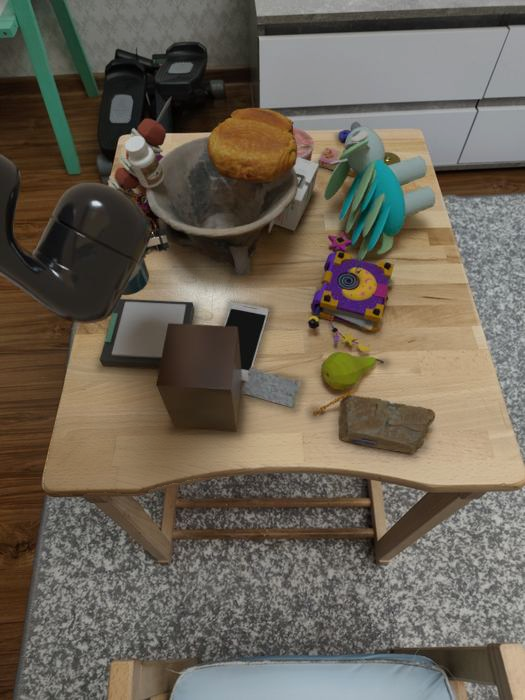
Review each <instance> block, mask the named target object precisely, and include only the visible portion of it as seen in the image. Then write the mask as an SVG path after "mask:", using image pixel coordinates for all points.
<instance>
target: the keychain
mask: <svg viewBox="0 0 525 700" xmlns="http://www.w3.org/2000/svg"><path fill="white" fill-rule="evenodd" d="M354 393H355V390H349V391H348V392H345V393H344V394H343V395H341V396H339V397H337V398H334V400H332V401H330V403H328V404H326V405H325V404H324V405H323V406H321V407H320V408H319V409H316V411H315V410H314V411H312V415H313V416H317V415H318V413H319V412H323V413H324V412H325V411H326V409H327V408H329V407H331V406H332V405H335V404H337V403H340V401H341V400H342V399H344V397H348V396H351V395H352V394H354Z"/></svg>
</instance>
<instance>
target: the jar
mask: <svg viewBox="0 0 525 700" xmlns="http://www.w3.org/2000/svg"><path fill="white" fill-rule="evenodd" d="M149 280H150V273H149V269H148V266H147V264H146V261H145V259H144V260H143V263H142V266H141V268H140V270H139V271H138V273H137V274H136V275H135V277H134V278H133V279H132V280H130V281H129V282H128V284H127V286H126V288H125V290H124V293H123V295H122V296H131V295H134V294H137V293H139V292H141V291H142V290H143V289H144V288H145V287H146V286H147V285H148V283H149Z"/></svg>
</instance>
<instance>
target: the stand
mask: <svg viewBox="0 0 525 700" xmlns="http://www.w3.org/2000/svg"><path fill="white" fill-rule="evenodd" d="M155 383H156V384H155V387H156V389H157V391H158V393H159V396H160V399H161V401H162V403H163V405H164V408H165V411H166V412H167V415H168V417H169V419H170V422H171V424H172V426H173V428H174V429H179V430H180V429H181V430H196V431H197V430H199V431H200V430H201V431H216V432H217V431H218V432H238V424H239V413H240V401H241V394H242V393H241V392H242V383H243V382H242V370H241V358H240V347H239V335H238V327H234V326H224V325H210V324H209V325H208V324H193V323H192V324H172V323H168V327H167V332H166V337H165V342H164V347H163V352H162V357H161V362H160V367H159V369H158V372H157V378H156V382H155Z"/></svg>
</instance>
